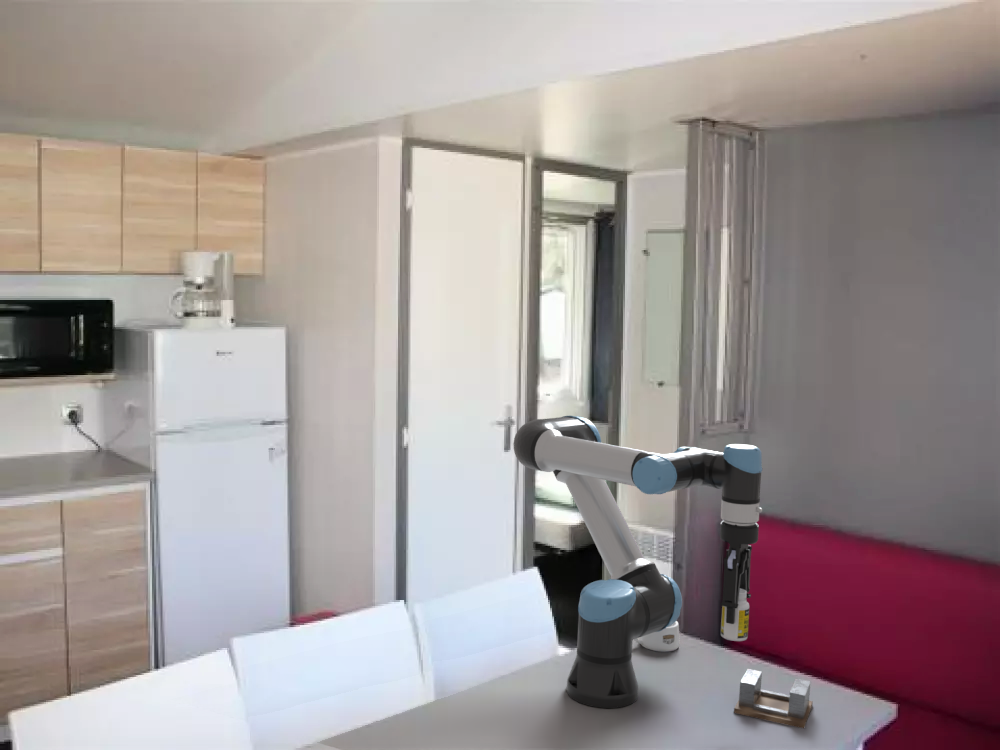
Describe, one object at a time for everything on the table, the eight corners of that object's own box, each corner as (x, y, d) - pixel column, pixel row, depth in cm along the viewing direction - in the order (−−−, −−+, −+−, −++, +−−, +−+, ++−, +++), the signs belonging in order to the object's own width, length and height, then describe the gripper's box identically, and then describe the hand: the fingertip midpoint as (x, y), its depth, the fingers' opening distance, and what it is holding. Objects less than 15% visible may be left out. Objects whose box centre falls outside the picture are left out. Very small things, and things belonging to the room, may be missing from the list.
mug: (666, 636, 244) (668, 613, 243) (686, 650, 234) (688, 626, 234) (623, 640, 240) (625, 616, 239) (642, 655, 230) (643, 630, 230)
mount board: (733, 712, 201) (734, 708, 201) (745, 691, 212) (745, 687, 212) (804, 728, 195) (804, 723, 195) (812, 705, 206) (812, 701, 206)
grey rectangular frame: (737, 706, 202) (739, 683, 202) (746, 689, 211) (748, 667, 210) (802, 720, 197) (804, 696, 196) (809, 703, 205) (811, 680, 205)
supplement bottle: (747, 643, 196) (750, 595, 195) (720, 640, 197) (722, 592, 196) (747, 634, 201) (750, 587, 200) (720, 631, 202) (722, 585, 201)
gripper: (747, 533, 187) (741, 651, 189) (768, 515, 203) (763, 623, 205) (709, 528, 190) (703, 643, 192) (732, 510, 207) (727, 617, 209)
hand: (734, 633), depth 199 cm, fingers closed on supplement bottle, 5 cm apart
